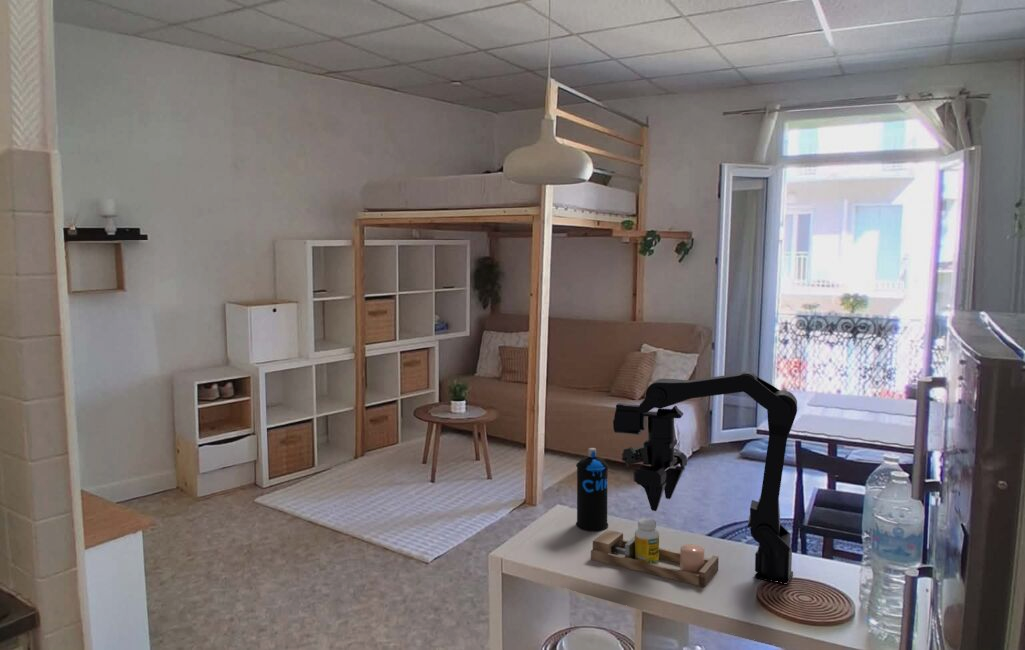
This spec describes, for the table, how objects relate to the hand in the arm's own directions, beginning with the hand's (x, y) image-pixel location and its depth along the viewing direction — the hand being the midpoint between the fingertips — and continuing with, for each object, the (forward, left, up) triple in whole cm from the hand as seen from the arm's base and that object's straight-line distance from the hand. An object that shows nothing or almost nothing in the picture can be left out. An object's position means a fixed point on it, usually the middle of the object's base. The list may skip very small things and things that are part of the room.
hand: (661, 504), depth 156 cm
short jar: (-8, +4, -13) cm, 16 cm away
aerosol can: (+22, -10, -13) cm, 28 cm away
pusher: (+8, +4, -12) cm, 15 cm away
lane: (0, +4, -13) cm, 13 cm away
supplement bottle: (+2, +4, -13) cm, 13 cm away
